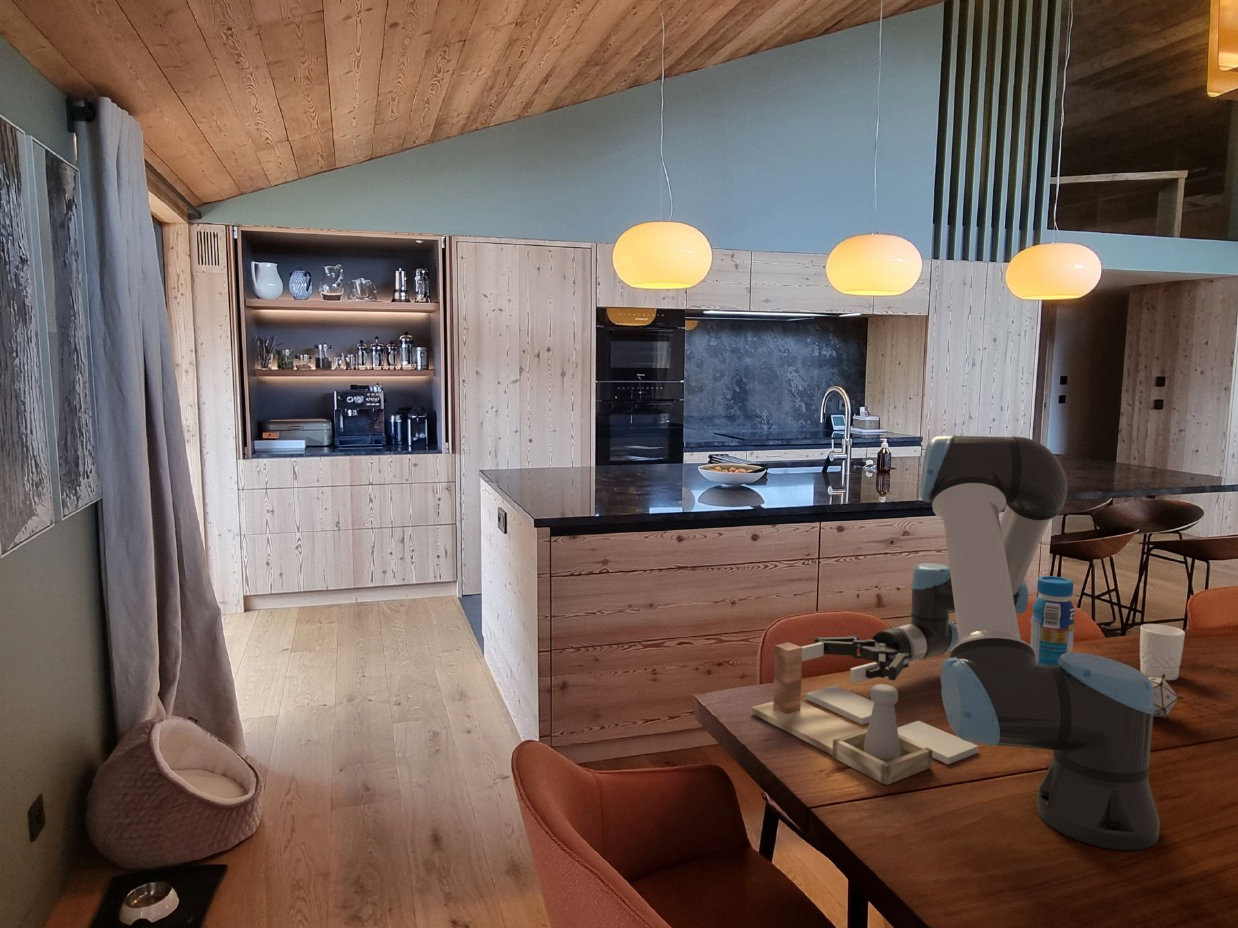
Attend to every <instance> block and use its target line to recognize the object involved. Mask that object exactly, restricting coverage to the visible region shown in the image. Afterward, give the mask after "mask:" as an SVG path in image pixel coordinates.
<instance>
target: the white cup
mask: <svg viewBox="0 0 1238 928" xmlns="http://www.w3.org/2000/svg"><path fill="white" fill-rule="evenodd" d="M1139 630H1140V631H1139V632H1140V634H1139V635H1140V637H1139V661H1140V667H1139V669H1140V670H1139V671H1140V672H1141V673H1143V674H1144V675H1145V676H1147V677H1162V675H1163V674H1165V677H1164V679H1165V681H1176V680H1177V679H1179V673H1180V666H1181V663H1182V657H1183V650H1184V643H1185V636H1186V635H1185V634H1186V632H1185V631H1184V630H1182V629H1180V628H1178V627H1174V626H1169V625H1166V624H1160V623H1159V624H1156V623H1144V624H1141V625H1140V628H1139Z"/></svg>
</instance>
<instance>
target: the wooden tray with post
mask: <svg viewBox="0 0 1238 928" xmlns="http://www.w3.org/2000/svg"><path fill="white" fill-rule="evenodd" d="M802 647H803V646H799V645H797V644H794V643H793V642H792V643H791V642H789V641H787V642H784V643H779V644H775V645H774V662H773V663H774V669H773V670H774V671H773V697H772V698H773V701H770V702H765V703H762V704H758V705H754V706H752V707H751V714H752V715H754V716H756V717H758V718H760V719H762V720H763V721H765V722H767V723H769V724H771V725H773V726H775V727H777V728H779V729H781V730H783V731H785V732H787V733H788V734H790V735H792V736H795V737H797V738H798V739H800V740H802V741H804V742H806V743H807V744H810V745H811V746H813V747H815V748H817V749H819V750H821V751H823V752H826V753H827V754H829V755H831V756H832V758H833V759H834V760H836V761H839V762H841V763H842V764H844V765H847V766H848V767H850V768H852V769H854V770H856V771H858V772H859V773H862V774H864V775H865V776H867V777H869V778H871V779H874V780H875V781H877V782H879V783H881V784H883V785H885V786H887V785H888V786H889V785H891V784H892V783H896V782H899V781H901V780H903V779H906V778H908V777H910V776H913V775H916V774H918V773H922V772H924V771H926V770H929V769H931V768H932V767H933V757H932V751H933V750H932V749H930V748H928V747H925V746H923V745H921V744H919V743H917V742H914V741H912V740H910V739H908V738H906V737H903V736H901V735H899V734H898V737H899V744H900V752H901V753H900V757H899V758H897V759H894V760H891V761H889V762H884V761H882V760H880V759H878V758H876V757H874V756H872V755H870V754H868V753H866V752H864V742H865V738H866V734H867V730H868V728H866V729H865V728H864V729H863V728H860V727H858V726H856V725H855V724H854V725H853V724H852V723H850V722H847V721H845V720H842V719H841V718H838V717H837V716H834V715H832V714H830V713H828V712H826V711H823V710H821V709H819V708H817V707H815V706H813V705H811V704H809V703H806V702H804V701H802V700H801V699H802V698H801V697H802V671H803V670H802V667H803V666H802V665H803V664H802V663H803V661H802Z"/></svg>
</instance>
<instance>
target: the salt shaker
mask: <svg viewBox="0 0 1238 928" xmlns="http://www.w3.org/2000/svg"><path fill="white" fill-rule="evenodd" d="M869 694H870V695H869V697H870V700H871V701H874V706H873V710H872V714H871V718H870V722H869V723H868V727H867V729H868V730H867V734H866V738H865V742H864V750H863V751H864V752H866V753H868V754H870V755H872V756H874V757H876V758H878V759H880V760H882V761H884V762H889V761H891V760H894V759H897V758H900V757H901V756H900V753H901V752H900V744H899V737H898V730H897V728H898V723H897V717H896V716H897V715H896V710H895V704H896V703H898V700H899V694H898V690H897V689H896V687H894V686H893V685H889V684H885V683H879V684H875V685H873V686H872V687H871V688H870V693H869Z"/></svg>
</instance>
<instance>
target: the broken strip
mask: <svg viewBox="0 0 1238 928" xmlns="http://www.w3.org/2000/svg"><path fill="white" fill-rule="evenodd" d="M805 699H806V700H807V701H809V702H812V703H813V704H816V705H817V706H820V707H822V708H824V709H827V710H829V711H831V712H833V713H836V714H838V715H840V716H842V717H844V718H846V719H848V720H850V721H853V722H855V723H856V724H859V725H862V726H863V725H866V724H869V722H870V718H871V714H872V710H873V706H874V701H872V700H871V699H869V698H866V697H864V696H861V695H859V694H857V693H854V692H852V691H850V690H847V689H846V688H842V687H841V686H838V685H835V684H833V685H831V686H826V687H824V688H820V689H816V690H813V691H809V692H805ZM897 730H898V734H899V735H901V736H903V737H906V738H908V739H910V740H912V741H914V742H917V743H919V744H921V745H923V746H925V747H928V748H930V749H932V750H933V751H932V759H935V760H937V761H939V762H941V763H944V764H946V765H950V764H951V765H952V764H953V763H955V762H958V761H961V760H964V759H966V758H969V757H970V756H973V755H976V754H978V753H979V745H977V744H976V743H974V742H967V741H964V740H962V739H961V738H959V737H958V736H957V735H955V734H954V735H953V734H951V733H950V732H949V733H948V732H946V731H944V730H942V729H939V728H937V727H934V726H932V725H930V724H928V723H925V722H923V721H921V720H916V721H913V722H909V723H908V724H904V725H902V726H897Z"/></svg>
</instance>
